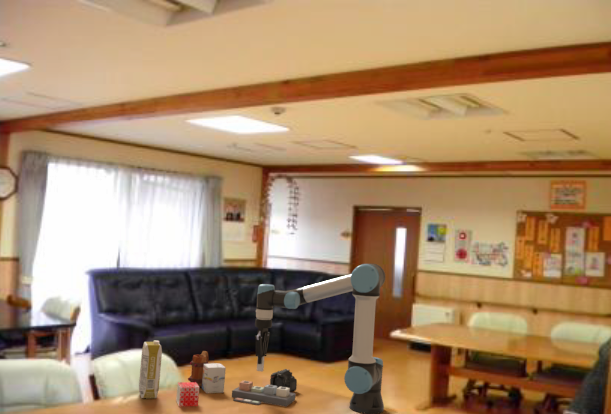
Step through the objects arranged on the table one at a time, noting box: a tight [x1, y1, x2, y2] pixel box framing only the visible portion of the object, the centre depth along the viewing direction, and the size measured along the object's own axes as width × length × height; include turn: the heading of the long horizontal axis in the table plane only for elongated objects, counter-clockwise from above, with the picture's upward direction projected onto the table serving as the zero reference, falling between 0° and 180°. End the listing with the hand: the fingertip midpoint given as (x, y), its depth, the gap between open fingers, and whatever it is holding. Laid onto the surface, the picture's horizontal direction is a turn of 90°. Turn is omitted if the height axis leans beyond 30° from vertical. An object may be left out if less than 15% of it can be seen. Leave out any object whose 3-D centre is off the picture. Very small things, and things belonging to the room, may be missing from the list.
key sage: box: [251, 385, 264, 393], centre depth 273 cm, size 5×5×4 cm
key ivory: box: [276, 386, 291, 397], centre depth 269 cm, size 5×5×4 cm
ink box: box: [201, 362, 226, 394], centre depth 279 cm, size 9×8×12 cm
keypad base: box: [231, 386, 296, 408], centre depth 272 cm, size 26×12×3 cm, turn 72°
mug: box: [187, 350, 209, 388], centre depth 288 cm, size 15×8×15 cm, turn 168°
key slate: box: [263, 383, 277, 395], centre depth 271 cm, size 5×5×4 cm
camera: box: [269, 368, 298, 393], centre depth 290 cm, size 13×10×10 cm
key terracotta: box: [238, 380, 254, 391], centre depth 275 cm, size 5×5×4 cm
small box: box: [175, 381, 200, 407], centre depth 256 cm, size 8×8×8 cm
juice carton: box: [138, 340, 163, 399], centre depth 262 cm, size 9×8×24 cm
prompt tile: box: [233, 398, 262, 406], centre depth 265 cm, size 12×3×1 cm, turn 72°
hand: (259, 370), depth 273 cm, fingers closed
